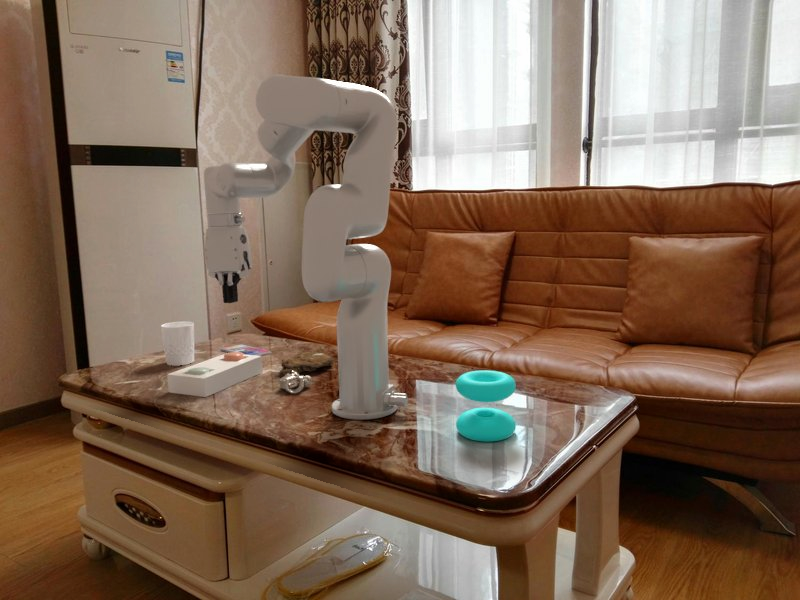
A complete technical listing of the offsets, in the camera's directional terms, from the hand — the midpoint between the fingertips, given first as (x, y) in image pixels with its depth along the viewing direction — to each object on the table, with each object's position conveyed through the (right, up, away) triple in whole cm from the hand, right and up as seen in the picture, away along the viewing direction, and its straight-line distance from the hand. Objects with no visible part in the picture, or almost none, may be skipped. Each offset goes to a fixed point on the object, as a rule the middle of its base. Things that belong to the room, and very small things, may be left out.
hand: (230, 302), depth 144 cm
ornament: (+17, -19, -9) cm, 27 cm away
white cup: (-17, -16, +16) cm, 28 cm away
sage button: (-5, -19, -8) cm, 21 cm away
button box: (-2, -18, -3) cm, 18 cm away
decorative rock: (+16, -17, +6) cm, 24 cm away
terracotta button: (0, -16, +3) cm, 16 cm away
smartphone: (-3, -14, +26) cm, 30 cm away
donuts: (+54, -22, -37) cm, 69 cm away
